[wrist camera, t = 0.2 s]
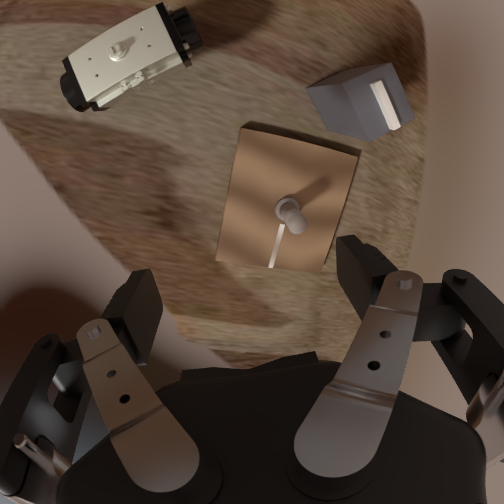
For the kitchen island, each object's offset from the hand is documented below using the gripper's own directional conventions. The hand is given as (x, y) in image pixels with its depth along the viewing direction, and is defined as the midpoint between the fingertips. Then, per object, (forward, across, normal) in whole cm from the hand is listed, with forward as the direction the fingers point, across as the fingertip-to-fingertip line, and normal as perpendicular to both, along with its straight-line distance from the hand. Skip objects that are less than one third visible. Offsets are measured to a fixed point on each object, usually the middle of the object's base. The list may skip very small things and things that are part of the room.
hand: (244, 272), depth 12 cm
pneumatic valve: (+21, +7, -14) cm, 26 cm away
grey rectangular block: (+22, -13, -8) cm, 27 cm away
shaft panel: (+23, -5, +4) cm, 24 cm away
